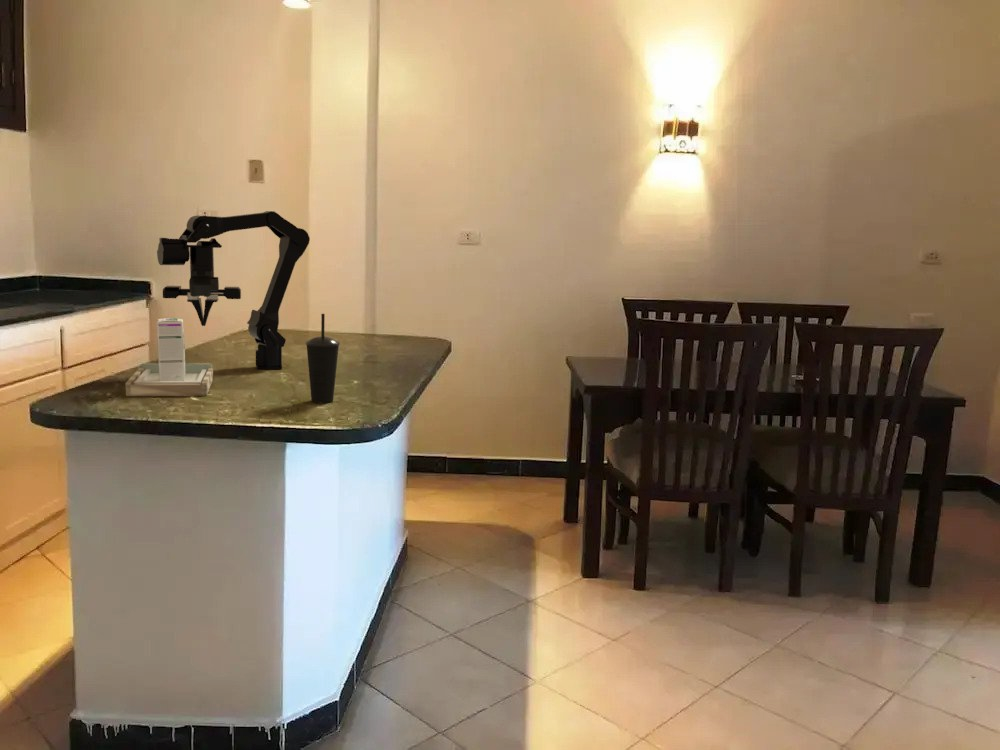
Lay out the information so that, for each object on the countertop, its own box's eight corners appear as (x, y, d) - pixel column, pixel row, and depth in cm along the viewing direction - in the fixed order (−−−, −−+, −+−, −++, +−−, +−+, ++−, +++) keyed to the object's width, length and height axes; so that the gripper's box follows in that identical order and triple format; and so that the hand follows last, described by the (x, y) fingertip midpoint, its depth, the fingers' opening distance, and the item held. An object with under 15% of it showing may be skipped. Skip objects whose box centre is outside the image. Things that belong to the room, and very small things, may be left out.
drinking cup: (310, 405, 182) (310, 315, 179) (301, 398, 189) (301, 312, 186) (343, 403, 186) (344, 315, 182) (333, 396, 193) (334, 311, 189)
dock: (139, 380, 201) (139, 368, 200) (213, 380, 205) (212, 368, 205) (126, 396, 183) (125, 383, 183) (206, 395, 188) (206, 382, 187)
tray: (142, 376, 202) (142, 363, 202) (211, 375, 206) (211, 363, 206) (129, 390, 185) (129, 377, 184) (205, 390, 189) (204, 376, 189)
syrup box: (185, 382, 192) (184, 320, 190) (158, 383, 190) (156, 320, 188) (185, 377, 197) (184, 317, 195) (158, 378, 195) (157, 317, 193)
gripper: (158, 266, 201) (161, 329, 204) (238, 268, 206) (240, 330, 208) (164, 263, 211) (166, 324, 214) (240, 265, 216) (241, 324, 219)
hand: (203, 325), depth 214 cm, fingers closed
